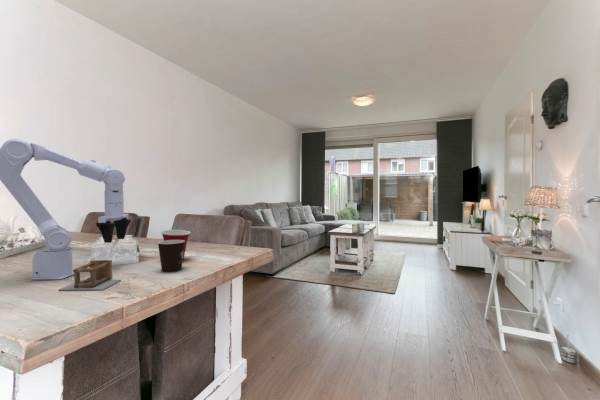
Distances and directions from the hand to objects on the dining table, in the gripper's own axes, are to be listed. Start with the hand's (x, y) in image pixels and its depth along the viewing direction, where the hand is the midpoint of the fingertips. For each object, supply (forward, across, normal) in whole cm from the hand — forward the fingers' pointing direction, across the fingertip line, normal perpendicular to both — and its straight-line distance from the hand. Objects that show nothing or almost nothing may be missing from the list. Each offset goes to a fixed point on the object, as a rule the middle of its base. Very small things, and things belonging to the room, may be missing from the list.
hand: (114, 240), depth 101 cm
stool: (+6, -15, -5) cm, 17 cm away
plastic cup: (+10, +10, -18) cm, 23 cm away
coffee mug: (+10, -2, -22) cm, 24 cm away
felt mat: (+10, -20, -5) cm, 23 cm away
